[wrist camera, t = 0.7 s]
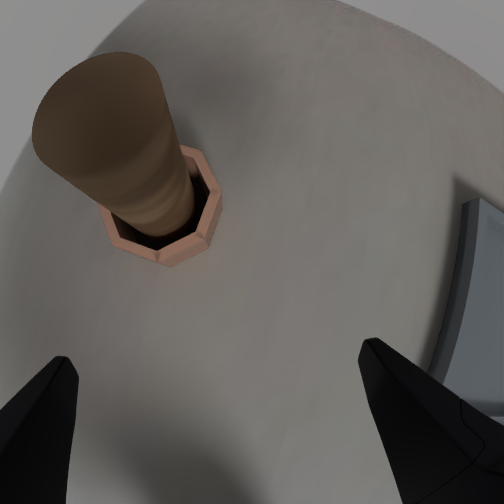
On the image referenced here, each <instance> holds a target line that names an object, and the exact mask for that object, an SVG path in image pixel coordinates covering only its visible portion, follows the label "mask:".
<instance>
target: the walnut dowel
mask: <svg viewBox="0 0 504 504" xmlns="http://www.w3.org/2000/svg"><path fill="white" fill-rule="evenodd" d="M32 142H33V146H34V149H35V152H36V154H37V156H38V157H39V159H40V160H41V161H42V162H43V163H44V164H45V165H46V166H48V167H49V168H51V169H52V170H53V171H55V172H56V173H57V174H59V175H60V176H61V177H63V178H64V179H66V180H67V181H68V182H70V183H71V184H72V185H74V186H75V187H77V188H78V189H79V190H81V191H82V192H84V193H85V194H86V195H88V196H89V197H91V198H92V199H93V200H95V201H96V202H98V203H99V204H101V205H102V206H103V207H105V208H106V209H108V210H109V211H111V212H112V213H113V214H115V215H116V216H118V217H119V218H121V219H122V220H124V221H125V222H127V223H128V224H130V225H131V226H132V227H134V228H135V229H137V230H138V231H140V232H141V233H143V234H144V235H146V236H147V237H149V238H150V239H152V240H154V241H156V242H159V243H163V244H171V243H174V242H176V241H178V240H180V239H182V238H184V237H186V236H188V235H189V234H190V233H191V232H192V231H193V230H194V228H195V226H196V224H197V222H198V219H199V205H198V201H197V198H196V195H195V192H194V189H193V186H192V183H191V179H190V176H189V173H188V170H187V167H186V164H185V161H184V157H183V154H182V151H181V148H180V145H179V141H178V138H177V135H176V132H175V128H174V125H173V122H172V118H171V115H170V112H169V108H168V105H167V102H166V98H165V95H164V91H163V88H162V84H161V81H160V78H159V75H158V72H157V71H156V69H155V68H154V66H153V65H152V64H151V63H150V62H148V61H147V60H146V59H144V58H142V57H140V56H138V55H135V54H131V53H124V52H115V53H107V54H102V55H99V56H95V57H93V58H90V59H87V60H85V61H83V62H81V63H79V64H78V65H76V66H75V67H73V68H72V69H70V70H69V71H68V72H66V73H65V74H64V75H63V76H61V77H60V78H59V79H58V80H57V81H56V82H55V83H54V84H53V86H52V87H51V88H50V89H49V90H48V92H47V93H46V95H45V96H44V98H43V100H42V101H41V103H40V105H39V107H38V110H37V112H36V115H35V118H34V122H33V127H32Z"/></svg>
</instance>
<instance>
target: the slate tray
mask: <svg viewBox="0 0 504 504" xmlns="http://www.w3.org/2000/svg"><path fill="white" fill-rule="evenodd" d="M428 374H429V375H430V376H431V377H433V378H434V379H436V380H437V381H438V382H440V383H441V384H442V385H444V386H445V387H447V388H448V389H449V390H451V391H452V392H453V393H455V394H456V395H458V396H459V397H460V398H462V399H463V400H465V401H466V402H467V403H469V404H470V405H472V406H473V407H475V408H476V409H477V410H479V411H480V412H482V413H484V414H485V415H487V416H488V417H490V418H492V419H493V420H495V421H497V422H499V423H500V424H502V425H504V214H503V213H502V212H501V211H499V210H498V209H496V208H495V207H494V206H492V205H491V204H489V203H488V202H486V201H485V200H483V199H482V198H480V197H479V198H477V199H474V200H471V201H469V202H466V203H464V204H463V211H462V222H461V231H460V239H459V246H458V253H457V259H456V265H455V271H454V276H453V281H452V286H451V291H450V296H449V300H448V305H447V309H446V313H445V317H444V321H443V325H442V329H441V332H440V336H439V339H438V343H437V346H436V349H435V353H434V356H433V359H432V362H431V365H430V368H429V371H428Z"/></svg>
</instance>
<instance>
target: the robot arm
mask: <svg viewBox="0 0 504 504" xmlns="http://www.w3.org/2000/svg"><path fill="white" fill-rule="evenodd" d="M358 364H359V368H360V372H361V376H362V380H363V384H364V388H365V392H366V396H367V400H368V404H369V407H370V410H371V413H372V415H373V418H374V421H375V424H376V426H377V429H378V432H379V435H380V437H381V440H382V443H383V446H384V449H385V452H386V454H387V457H388V460H389V463H390V466H391V469H392V472H393V475H394V478H395V481H396V484H397V487H398V490H399V494H400V497H401V500H402V503H403V504H504V425H502V424H500V423H499V422H497V421H495V420H493V419H492V418H490V417H488V416H487V415H485V414H484V413H482V412H480V411H479V410H477V409H476V408H475V407H473V406H472V405H470V404H469V403H467V402H466V401H465V400H463V399H462V398H460V397H459V396H458V395H456V394H455V393H453V392H452V391H451V390H449V389H448V388H447V387H445V386H444V385H442V384H441V383H440V382H438V381H437V380H436V379H434V378H433V377H431V376H430V375H429V374H427V373H426V372H425V371H423V370H422V369H420V368H419V367H418V366H416V365H415V364H413V363H412V362H411V361H409V360H408V359H407V358H405V357H404V356H402V355H401V354H400V353H398V352H397V351H395V350H394V349H393V348H391V347H390V346H389V345H387V344H386V343H384V342H383V341H382V340H380V339H379V338H376V337H375V338H369V339H365V340H364V341H363V344H362V347H361V350H360V354H359V357H358ZM78 384H79V376H78V373H77V371H76V369H75V368H74V366H73V364H72V362H71V361H70V359H69V358H68V357H66V356H56V357H55V358H53V359H52V360H51V361H50V362H49V363H48V364H47V365H46V366H45V367H44V368H43V369H42V370H41V371H40V372H38V373H37V374H36V375H35V376H34V377H33V378H32V379H31V380H30V381H29V382H28V383H27V384H26V385H25V386H24V387H23V388H22V389H21V390H20V391H19V392H18V393H17V394H16V395H15V396H14V397H13V398H12V399H11V400H10V401H9V402H8V403H7V404H6V405H5V406H4V407H3V408H2V409H1V410H0V504H66V492H67V480H68V470H69V462H70V454H71V446H72V439H73V433H74V427H75V419H76V406H77V394H78Z"/></svg>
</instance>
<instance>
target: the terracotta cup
mask: <svg viewBox="0 0 504 504" xmlns="http://www.w3.org/2000/svg"><path fill="white" fill-rule="evenodd" d="M179 145H180V144H179ZM180 148H181V151H182V154H183V157H184V161H185V164H186V167H187V170H188V173H189V176H190V177H191V178H195V179H198V180H199V181H200V183H201V185H202V187H203V189H204V191H205V193H206V195H207V197H208V200H207V203H206V205H205V208H204V211H203V213H202V216H201V219H200V221H199V224H198V227H197V230H196V232H194V233H192V234H190V235H188V236H186V237H184V238H182V239H180V240H178V241H176V242H174V243H172V244H170V245H168V246H166V247H164V248H162V249H160V250H158V251H156V250H153V249H150V248H147V247H144V246H142V245H139V244H137V242H136V240H135V238H134V235H133V233H132V230H131V228H130V225H129V224H128V223H127V222H125V221H124V220H122V219H121V218H119V217H118V216H116V215H115V214H113V213H112V212H111V211H109V210H108V209H106V208H105V207H103V206H102V205H101V204H99V203H98V202H97V204H98V207H99V210H100V212H101V215H102V218H103V221H104V223H105V226H106V229H107V232H108V234H109V237H110V239H111V242H112V245H113V246H115V247H117V248H120V249H122V250H125V251H127V252H130V253H133V254H135V255H138V256H141V257H144V258H146V259H149V260H152V261H154V262H157V263H160V264H163V265H165V266H168V267H172V266H174V265H176V264H178V263H180V262H182V261H184V260H186V259H188V258H190V257H192V256H194V255H196V254H198V253H200V252H202V251H204V250H206V249H208V248H209V245H210V242H211V239H212V236H213V234H214V231H215V228H216V225H217V222H218V220H219V217H220V214H221V211H222V209H223V208H222V191H221V189H220V187H219V185H218V183H217V181H216V179H215V177H214V175H213V173H212V171H211V170H210V168H209V166H208V164H207V162H206V160H205V158H204V156H203V154H202V152H201V150H197V149H194V148H190V147H187V146H183V145H180Z"/></svg>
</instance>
